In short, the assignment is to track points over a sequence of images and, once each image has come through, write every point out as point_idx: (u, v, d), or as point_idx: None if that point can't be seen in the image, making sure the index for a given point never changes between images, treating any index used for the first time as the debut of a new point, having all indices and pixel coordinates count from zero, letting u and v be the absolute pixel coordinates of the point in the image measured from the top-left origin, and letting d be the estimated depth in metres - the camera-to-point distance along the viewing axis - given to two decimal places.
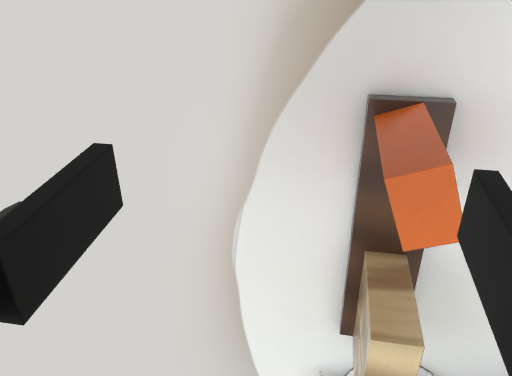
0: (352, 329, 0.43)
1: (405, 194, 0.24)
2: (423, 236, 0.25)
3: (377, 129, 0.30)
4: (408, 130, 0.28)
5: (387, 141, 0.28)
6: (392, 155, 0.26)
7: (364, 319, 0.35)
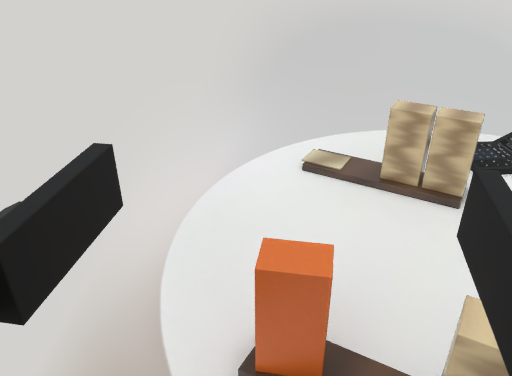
0: None
1: (275, 262, 0.29)
2: (320, 262, 0.29)
3: (255, 344, 0.32)
4: None
5: None
6: None
7: None
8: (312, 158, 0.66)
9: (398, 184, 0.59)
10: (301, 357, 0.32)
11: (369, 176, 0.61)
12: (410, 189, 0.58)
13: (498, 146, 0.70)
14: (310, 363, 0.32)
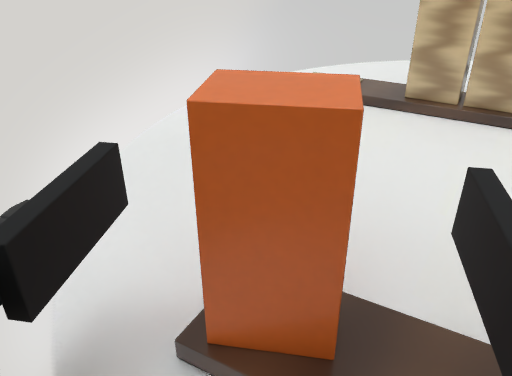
0: None
1: (234, 92, 0.13)
2: (334, 92, 0.13)
3: (203, 288, 0.16)
4: None
5: None
6: None
7: None
8: None
9: (430, 103, 0.43)
10: (295, 312, 0.16)
11: (389, 96, 0.45)
12: (448, 108, 0.42)
13: None
14: (312, 323, 0.16)
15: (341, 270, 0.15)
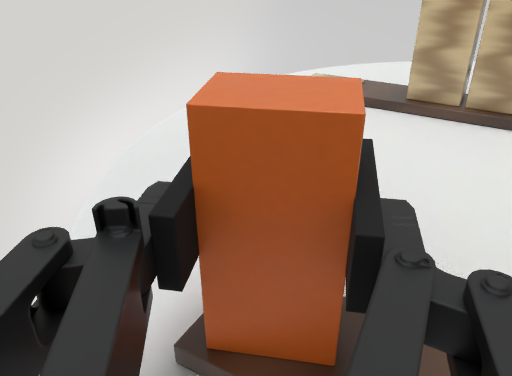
0: None
1: (234, 95, 0.13)
2: (336, 96, 0.13)
3: (202, 293, 0.16)
4: None
5: None
6: None
7: None
8: None
9: (432, 104, 0.43)
10: (295, 318, 0.16)
11: (391, 97, 0.45)
12: (450, 109, 0.42)
13: None
14: (313, 329, 0.16)
15: (342, 276, 0.15)
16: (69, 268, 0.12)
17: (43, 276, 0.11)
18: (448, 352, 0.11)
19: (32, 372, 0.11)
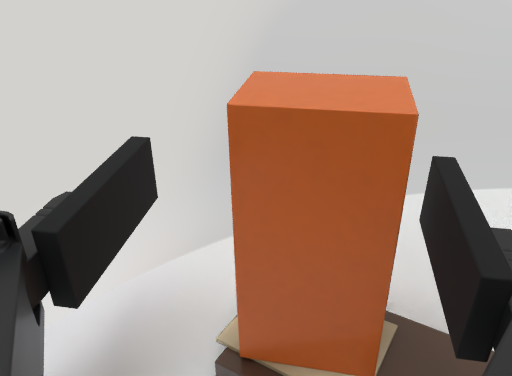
0: None
1: (276, 95, 0.13)
2: (383, 96, 0.12)
3: (237, 300, 0.16)
4: None
5: None
6: None
7: None
8: None
9: None
10: (334, 327, 0.15)
11: None
12: None
13: None
14: (353, 340, 0.15)
15: (386, 285, 0.14)
16: None
17: None
18: None
19: None
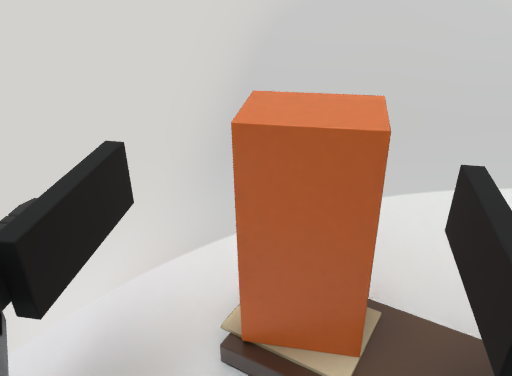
0: None
1: (272, 114, 0.15)
2: (363, 114, 0.15)
3: (239, 290, 0.18)
4: None
5: None
6: None
7: None
8: None
9: None
10: (324, 313, 0.17)
11: None
12: None
13: None
14: (340, 323, 0.18)
15: (368, 274, 0.16)
16: None
17: None
18: None
19: None
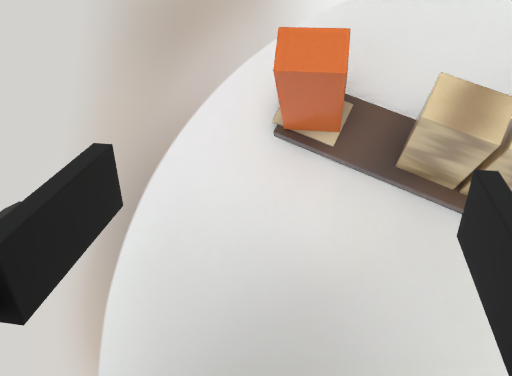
0: None
1: (292, 59, 0.31)
2: (336, 55, 0.30)
3: (281, 114, 0.37)
4: None
5: None
6: None
7: None
8: None
9: (422, 185, 0.37)
10: (322, 120, 0.37)
11: (378, 163, 0.38)
12: (440, 200, 0.37)
13: None
14: (330, 123, 0.38)
15: (341, 110, 0.35)
16: None
17: None
18: None
19: None
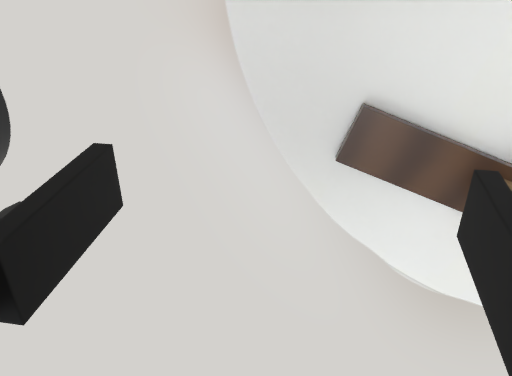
0: None
1: None
2: None
3: None
4: None
5: None
6: None
7: None
8: None
9: None
10: None
11: None
12: None
13: None
14: None
15: None
16: None
17: None
18: None
19: None
